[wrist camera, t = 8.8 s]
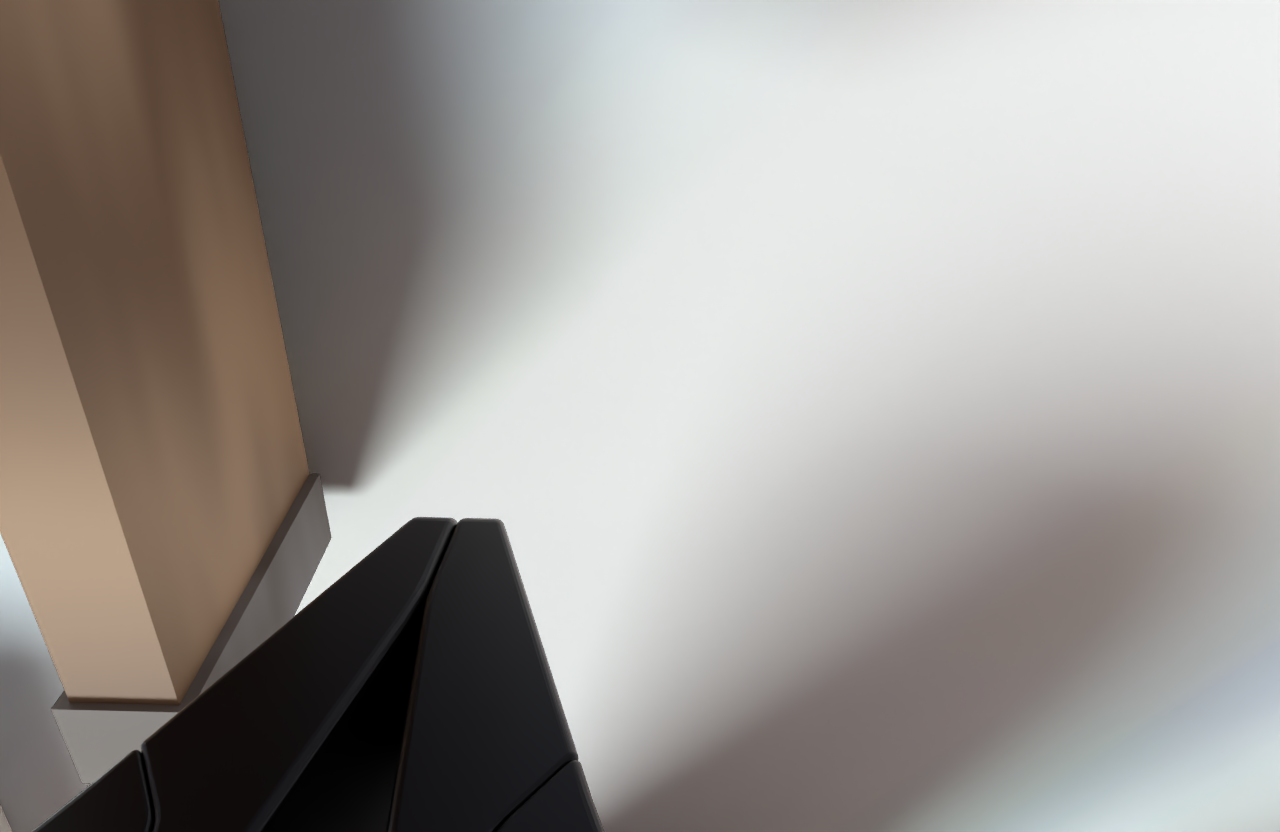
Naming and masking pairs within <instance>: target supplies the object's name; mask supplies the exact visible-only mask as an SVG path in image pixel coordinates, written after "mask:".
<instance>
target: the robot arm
mask: <svg viewBox="0 0 1280 832" xmlns="http://www.w3.org/2000/svg"><path fill="white" fill-rule="evenodd" d="M140 748H141V752H140V751H139V750H133V751H131V752H130V753H128V754H127V755H126V756H125V757H124V758H122V759H121V760H120V761H119V762H118V763H116V764H115V765H114V766H113V767H112V768H110V769H109V770H108V771H107V772H105V773H104V774H103V775H102V776H101V777H99V778H98V779H97V780H96V781H95V782H93V783H92V784H91V785H90V786H88V787H87V788H86V789H85V790H83V791H82V792H81V793H80V794H78V795H77V796H76V797H74V798H73V799H72V800H71V801H69V802H68V803H67V804H66V805H64V806H63V807H62V808H61V809H59V810H58V811H57V812H56V813H54V814H53V815H52V816H51V817H49V818H48V819H47V820H46V821H44V822H43V823H42V824H41V825H39V826H38V827H37V828H35V829H34V830H33V831H32V832H604V829H603V827H602V824H601V821H600V819H599V816H598V813H597V810H596V808H595V805H594V802H593V799H592V797H591V794H590V791H589V788H588V784H587V781H586V778H585V775H584V772H583V769H582V766H581V763H580V762H579V761H578V754H577V751H576V748H575V745H574V742H573V739H572V736H571V733H570V729H569V726H568V723H567V720H566V717H565V714H564V711H563V708H562V704H561V701H560V698H559V695H558V692H557V689H556V686H555V683H554V679H553V676H552V673H551V670H550V667H549V664H548V661H547V658H546V654H545V651H544V648H543V645H542V642H541V639H540V636H539V633H538V629H537V626H536V623H535V620H534V617H533V614H532V611H531V608H530V604H529V601H528V598H527V595H526V592H525V589H524V586H523V583H522V579H521V576H520V573H519V570H518V567H517V564H516V561H515V558H514V554H513V551H512V548H511V545H510V542H509V539H508V536H507V533H506V529H505V526H504V524H503V522H502V521H501V520H499V519H483V518H465V519H462V520H460V521H459V522H458V523H457V521H456V520H455V519H453V518H439V517H416V518H413V519H412V520H410V521H409V522H407V523H406V524H405V525H404V526H403V527H401V528H400V529H399V530H398V531H396V532H395V533H394V534H393V535H392V536H390V537H389V538H388V539H387V540H386V541H384V542H383V543H382V544H381V545H380V546H378V547H377V548H376V549H375V550H374V551H372V552H371V553H370V554H369V555H368V556H366V557H365V558H364V559H363V560H362V561H360V562H359V563H358V564H357V565H356V566H354V567H353V568H352V569H351V570H349V571H348V572H347V573H346V574H345V575H343V576H342V577H341V578H340V579H339V580H337V581H336V582H335V583H334V584H333V585H331V586H330V587H329V588H328V589H327V590H325V591H324V592H323V593H322V594H321V595H319V596H318V597H317V598H316V599H315V600H313V601H312V602H311V603H310V604H309V605H307V606H306V607H305V608H304V609H302V610H301V611H300V612H299V613H298V614H296V615H295V616H294V617H293V618H292V619H290V620H289V621H288V622H287V623H286V624H284V625H283V626H282V627H281V628H280V629H278V630H277V631H276V632H275V633H274V634H272V635H271V636H270V637H269V638H268V639H266V640H265V641H264V642H263V643H261V644H260V645H259V646H258V647H257V648H255V649H254V650H253V651H252V652H251V653H249V654H248V655H247V656H246V657H245V658H243V659H242V660H241V661H240V662H239V663H237V664H236V665H235V666H234V667H233V668H231V669H230V670H229V671H228V672H227V673H225V674H224V675H223V676H222V677H221V678H219V679H218V680H217V681H216V682H214V683H213V684H212V685H211V686H210V687H208V688H207V689H206V690H205V691H204V692H202V693H201V694H200V695H199V696H198V697H196V698H195V699H194V700H193V701H192V702H190V703H189V704H188V705H187V706H186V707H184V708H183V709H182V710H181V711H180V712H178V713H177V714H176V715H175V716H174V717H172V718H171V719H170V720H169V721H167V722H166V723H165V724H164V725H163V726H161V727H160V728H159V729H158V730H157V731H155V732H154V733H153V734H152V735H151V736H149V737H148V738H147V739H146V740H145V741H143V742H142V744H141V747H140Z"/></svg>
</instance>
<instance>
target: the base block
mask: <svg viewBox="0 0 1280 832" xmlns="http://www.w3.org/2000/svg"><path fill="white" fill-rule="evenodd" d="M0 832H12V830H11V827H10V825H9V823H8V821H7V819H6V816H5V814H4V812H3V810H2V807H1V805H0Z"/></svg>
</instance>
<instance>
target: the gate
mask: <svg viewBox="0 0 1280 832" xmlns="http://www.w3.org/2000/svg"><path fill="white" fill-rule="evenodd" d="M0 533H1V535H2V538H3V540H4V543H5V545H6V548H7V550H8V552H9V555H10V557H11V560H12V562H13V565H14V567H15V570H16V572H17V575H18V577H19V579H20V582H21V584H22V587H23V589H24V592H25V594H26V597H27V599H28V602H29V604H30V607H31V609H32V611H33V614H34V616H35V619H36V621H37V624H38V626H39V629H40V631H41V634H42V636H43V638H44V641H45V643H46V646H47V648H48V651H49V653H50V656H51V658H52V661H53V663H54V666H55V668H56V670H57V673H58V675H59V678H60V680H61V683H62V685H63V688H64V691H63V693H62V694H61V696H60V697H59V699H58V700H57V701H56V703H55V704H54V706H53V707H52V708H51V711H52V713H53V716H54V718H55V720H56V723H57V725H58V727H59V730H60V732H61V735H62V737H63V739H64V742H65V744H66V746H67V749H68V751H69V753H70V756H71V758H72V761H73V763H74V765H75V768H76V770H77V772H78V775H79V777H80V779H81V782H82V783H93V782H95V781H96V780H97V779H98V778H99V777H101V776H102V775H103V774H104V773H105V772H107V771H108V770H109V769H110V768H112V767H113V766H114V765H115V764H116V763H118V762H119V761H120V760H121V759H122V758H124V757H125V756H126V755H127V754H128V753H130V752H131V751H133V750H139V751H140V752H141V748H140V747H141V744H142V742H143V741H145V740H146V739H147V738H148V737H149V736H151V735H152V734H153V733H154V732H155V731H157V730H158V729H159V728H160V727H161V726H163V725H164V724H165V723H166V722H167V721H169V720H170V719H171V718H172V717H174V716H175V715H176V714H177V713H178V712H180V711H181V710H182V709H183V708H184V707H186V706H187V705H188V704H189V703H190V702H192V701H193V700H194V699H195V698H196V697H198V696H199V695H200V694H201V693H202V692H204V691H205V690H206V689H207V688H208V687H210V686H211V685H212V684H213V683H214V682H216V681H217V680H218V679H219V678H221V677H222V676H223V675H224V674H225V673H227V672H228V671H229V670H230V669H231V668H233V667H234V666H235V665H236V664H237V663H239V662H240V661H241V660H242V659H243V658H245V657H246V656H247V655H248V654H249V653H251V652H252V651H253V650H254V649H255V648H257V647H258V646H259V645H260V644H261V643H263V642H264V641H265V640H266V639H268V638H269V637H270V636H271V635H272V634H274V633H275V632H276V631H277V630H278V629H280V628H281V627H282V626H283V625H284V624H286V623H287V622H288V621H289V620H290V619H292V618H293V617H294V615H295V613H296V611H297V609H298V607H299V605H300V603H301V600H302V598H303V596H304V594H305V592H306V590H307V588H308V586H309V584H310V582H311V580H312V577H313V575H314V573H315V571H316V569H317V567H318V565H319V563H320V561H321V559H322V556H323V554H324V552H325V550H326V548H327V546H328V544H329V542H330V540H331V533H330V527H329V522H328V517H327V511H326V506H325V500H324V495H323V490H322V484H321V479H320V474H310V473H309V468H308V463H307V458H306V453H305V447H304V442H303V437H302V432H301V427H300V422H299V416H298V411H297V406H296V401H295V396H294V390H293V385H292V380H291V375H290V370H289V364H288V359H287V354H286V349H285V344H284V338H283V333H282V328H281V323H280V318H279V313H278V307H277V302H276V297H275V292H274V287H273V281H272V276H271V271H270V266H269V261H268V255H267V250H266V245H265V240H264V235H263V229H262V224H261V219H260V214H259V209H258V203H257V198H256V193H255V188H254V183H253V178H252V172H251V167H250V162H249V157H248V152H247V146H246V141H245V136H244V131H243V126H242V120H241V115H240V110H239V105H238V100H237V94H236V89H235V84H234V79H233V74H232V68H231V63H230V58H229V53H228V48H227V43H226V37H225V32H224V27H223V22H222V17H221V11H220V6H219V1H218V0H0Z"/></svg>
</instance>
